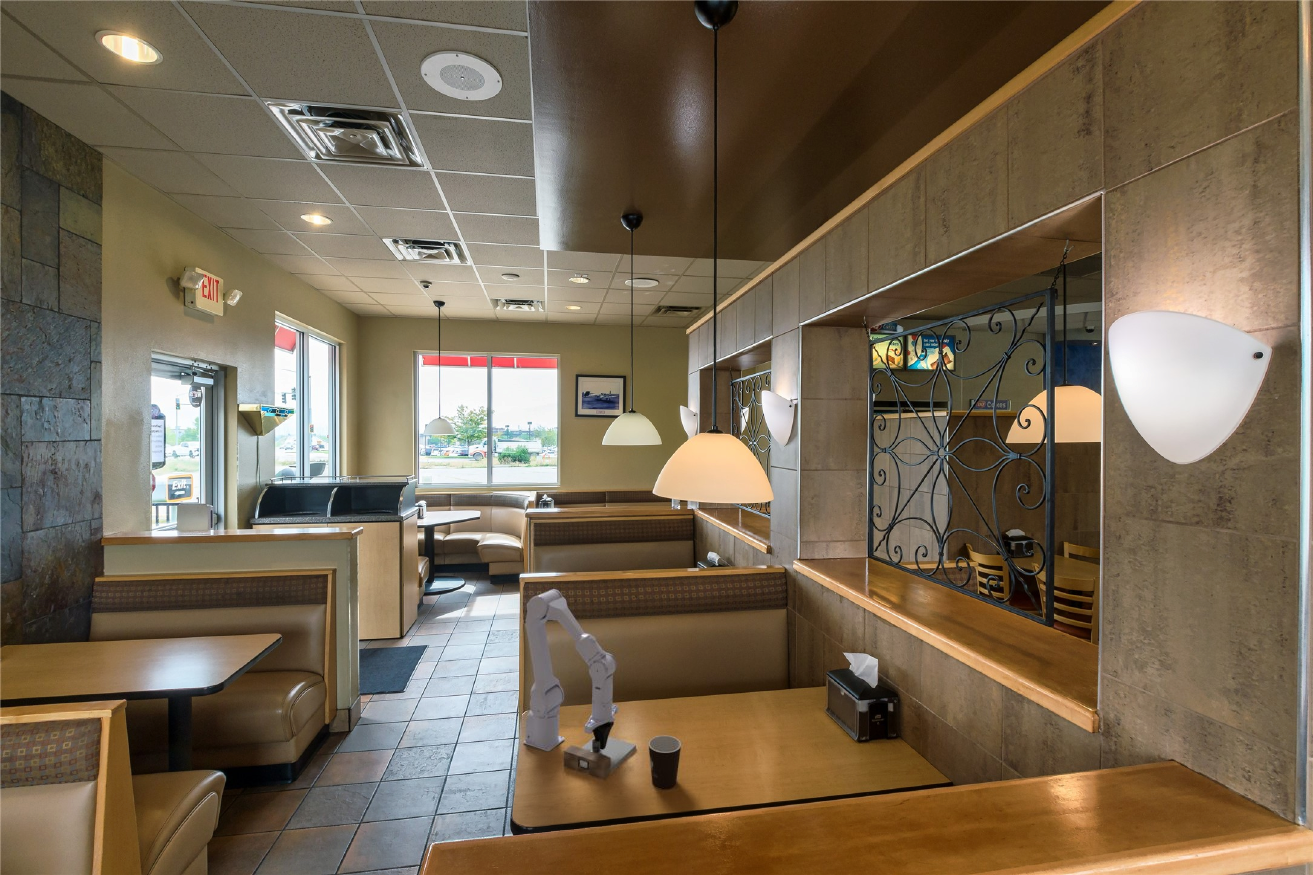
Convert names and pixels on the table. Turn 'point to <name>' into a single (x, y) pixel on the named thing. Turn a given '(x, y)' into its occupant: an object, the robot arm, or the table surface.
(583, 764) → the bolt
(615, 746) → the door panel
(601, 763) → the block
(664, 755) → the coffee mug
